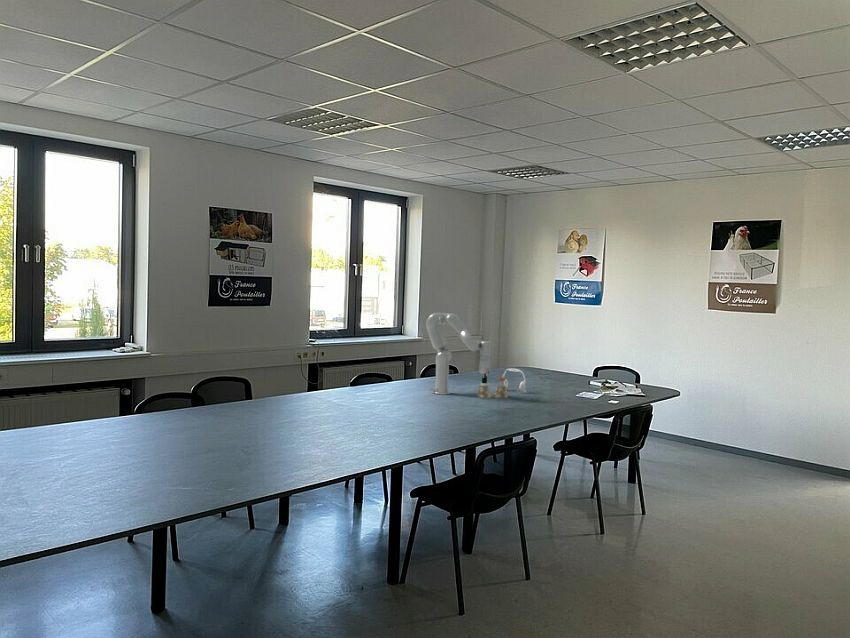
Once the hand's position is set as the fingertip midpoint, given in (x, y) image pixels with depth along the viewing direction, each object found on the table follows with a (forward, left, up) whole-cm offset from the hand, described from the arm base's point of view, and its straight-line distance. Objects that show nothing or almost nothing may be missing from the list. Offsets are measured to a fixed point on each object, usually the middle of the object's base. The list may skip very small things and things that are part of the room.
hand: (484, 383), depth 464 cm
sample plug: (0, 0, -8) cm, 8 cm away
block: (+7, 0, -10) cm, 12 cm away
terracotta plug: (+14, 0, -4) cm, 14 cm away
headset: (+33, +20, -10) cm, 40 cm away
